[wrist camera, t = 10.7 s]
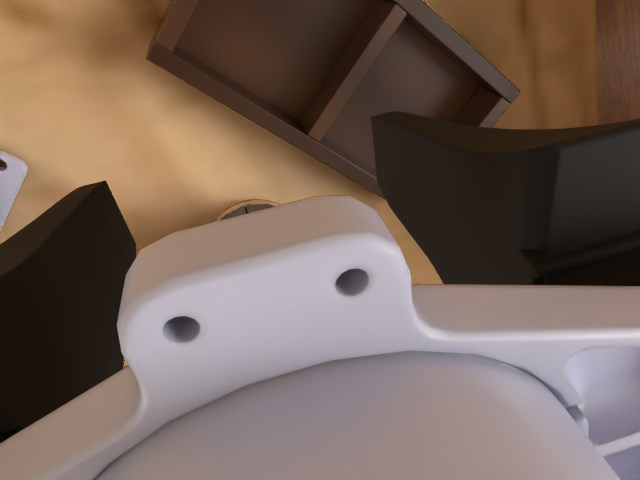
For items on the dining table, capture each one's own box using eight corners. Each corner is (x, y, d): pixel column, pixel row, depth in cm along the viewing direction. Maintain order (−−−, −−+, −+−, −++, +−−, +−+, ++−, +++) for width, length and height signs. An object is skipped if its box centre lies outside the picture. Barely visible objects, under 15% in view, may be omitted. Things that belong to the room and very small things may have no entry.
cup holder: (399, 197, 27) (417, 218, 25) (148, 45, 20) (145, 58, 18) (492, 78, 24) (521, 91, 22) (244, -145, 17) (253, -156, 15)
